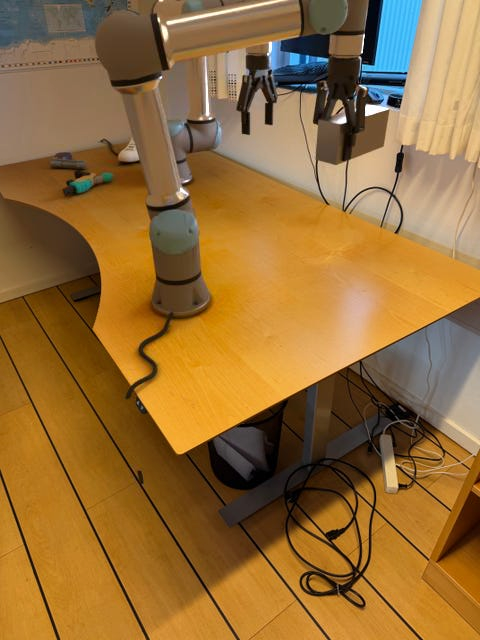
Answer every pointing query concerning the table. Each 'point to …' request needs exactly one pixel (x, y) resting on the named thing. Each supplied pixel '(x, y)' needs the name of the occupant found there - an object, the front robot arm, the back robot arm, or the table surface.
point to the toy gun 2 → (85, 181)
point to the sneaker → (129, 153)
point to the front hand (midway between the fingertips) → (334, 156)
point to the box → (336, 128)
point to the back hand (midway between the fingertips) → (257, 129)
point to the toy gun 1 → (66, 161)
